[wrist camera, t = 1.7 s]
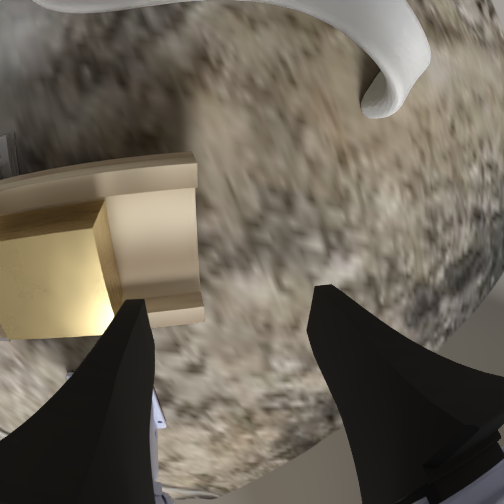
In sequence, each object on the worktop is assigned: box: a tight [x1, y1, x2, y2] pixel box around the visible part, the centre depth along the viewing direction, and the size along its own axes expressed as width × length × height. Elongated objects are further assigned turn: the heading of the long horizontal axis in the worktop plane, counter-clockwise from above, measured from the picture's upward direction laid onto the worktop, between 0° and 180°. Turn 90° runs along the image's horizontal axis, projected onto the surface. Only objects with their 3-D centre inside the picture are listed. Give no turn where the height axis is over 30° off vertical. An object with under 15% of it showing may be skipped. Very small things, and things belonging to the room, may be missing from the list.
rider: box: [0, 200, 123, 340], centre depth 12 cm, size 5×6×3 cm
